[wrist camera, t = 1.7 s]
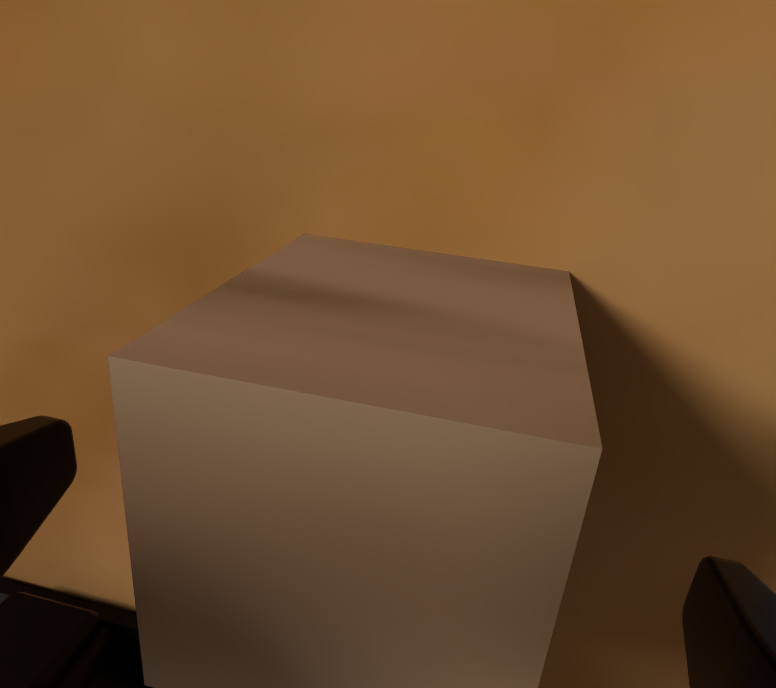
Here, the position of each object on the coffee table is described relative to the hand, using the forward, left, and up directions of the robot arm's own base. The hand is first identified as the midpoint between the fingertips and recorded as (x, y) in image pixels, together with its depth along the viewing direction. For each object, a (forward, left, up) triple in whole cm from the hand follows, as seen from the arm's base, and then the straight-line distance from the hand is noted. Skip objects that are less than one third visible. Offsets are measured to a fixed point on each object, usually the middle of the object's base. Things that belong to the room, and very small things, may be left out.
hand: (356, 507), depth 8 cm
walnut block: (0, 0, -4) cm, 4 cm away
